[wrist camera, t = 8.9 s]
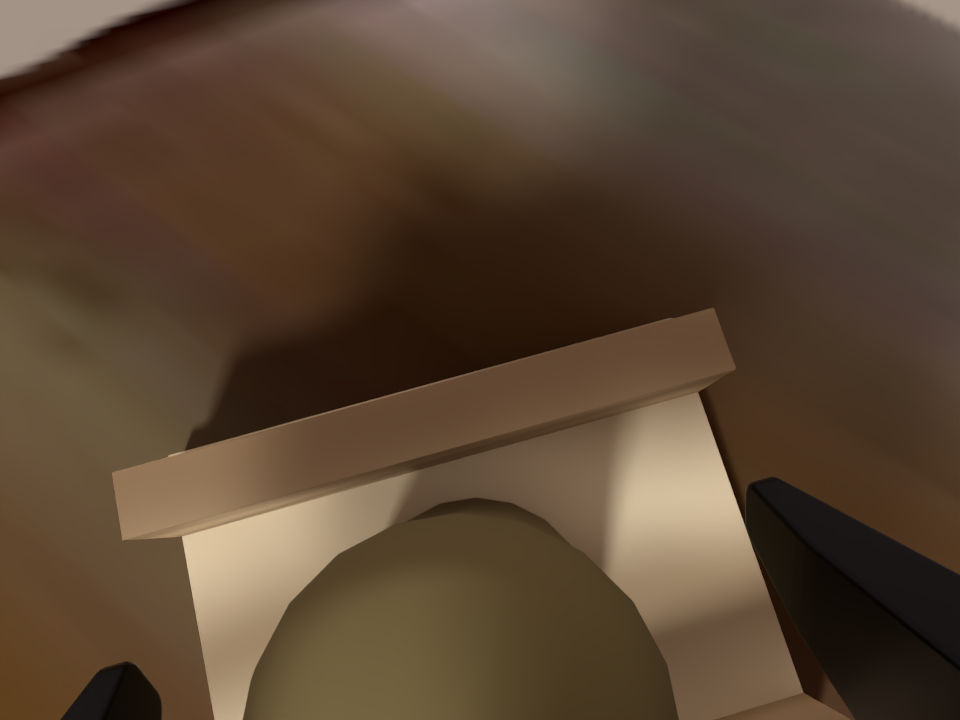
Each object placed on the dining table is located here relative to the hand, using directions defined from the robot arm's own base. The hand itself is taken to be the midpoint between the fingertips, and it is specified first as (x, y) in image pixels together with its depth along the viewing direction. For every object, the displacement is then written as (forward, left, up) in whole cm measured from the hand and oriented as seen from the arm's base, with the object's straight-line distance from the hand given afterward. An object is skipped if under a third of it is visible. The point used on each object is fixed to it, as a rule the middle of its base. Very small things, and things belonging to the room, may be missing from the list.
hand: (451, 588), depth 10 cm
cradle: (-1, -1, -9) cm, 9 cm away
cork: (-1, 0, -8) cm, 8 cm away
